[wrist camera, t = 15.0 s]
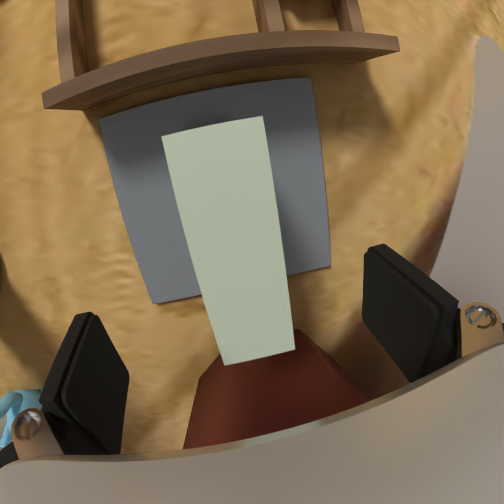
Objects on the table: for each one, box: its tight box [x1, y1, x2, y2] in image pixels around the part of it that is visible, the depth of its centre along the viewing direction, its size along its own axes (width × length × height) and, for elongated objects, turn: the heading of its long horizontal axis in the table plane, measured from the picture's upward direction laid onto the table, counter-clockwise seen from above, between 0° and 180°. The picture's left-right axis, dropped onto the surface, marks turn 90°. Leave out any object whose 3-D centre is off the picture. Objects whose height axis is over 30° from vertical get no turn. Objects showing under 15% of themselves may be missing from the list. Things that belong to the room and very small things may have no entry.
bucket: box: [183, 329, 370, 450], centre depth 25 cm, size 24×22×25 cm
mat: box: [99, 77, 331, 304], centre depth 25 cm, size 18×18×1 cm
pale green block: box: [161, 116, 295, 366], centre depth 19 cm, size 12×4×13 cm, turn 10°
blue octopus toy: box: [0, 387, 44, 447], centre depth 29 cm, size 13×13×10 cm
